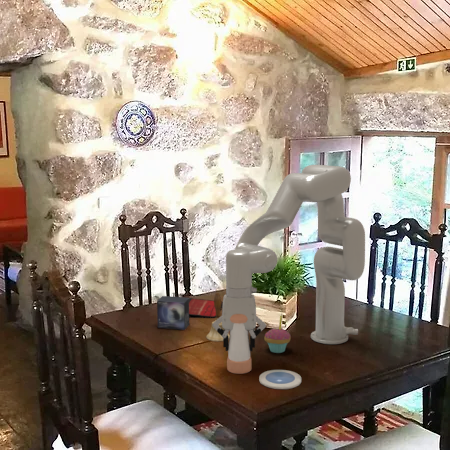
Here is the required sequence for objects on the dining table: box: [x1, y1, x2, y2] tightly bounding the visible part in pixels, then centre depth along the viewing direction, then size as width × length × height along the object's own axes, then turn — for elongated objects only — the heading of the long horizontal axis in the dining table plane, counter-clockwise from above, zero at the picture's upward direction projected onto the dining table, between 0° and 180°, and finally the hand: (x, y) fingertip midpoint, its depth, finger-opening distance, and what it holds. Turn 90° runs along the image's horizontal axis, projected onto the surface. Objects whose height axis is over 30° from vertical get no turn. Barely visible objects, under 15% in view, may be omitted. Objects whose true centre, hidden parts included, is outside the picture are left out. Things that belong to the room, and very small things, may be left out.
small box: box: [156, 295, 191, 331], centre depth 229 cm, size 11×6×10 cm, turn 76°
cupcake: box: [263, 313, 292, 354], centre depth 205 cm, size 9×8×12 cm
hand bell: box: [205, 291, 230, 342], centre depth 217 cm, size 8×8×16 cm
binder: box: [188, 297, 223, 319], centre depth 250 cm, size 16×2×21 cm
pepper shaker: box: [226, 314, 252, 375], centre depth 189 cm, size 7×7×19 cm
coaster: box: [258, 369, 302, 390], centre depth 182 cm, size 12×12×1 cm
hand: (239, 349), depth 189 cm, fingers closed on pepper shaker, 6 cm apart
